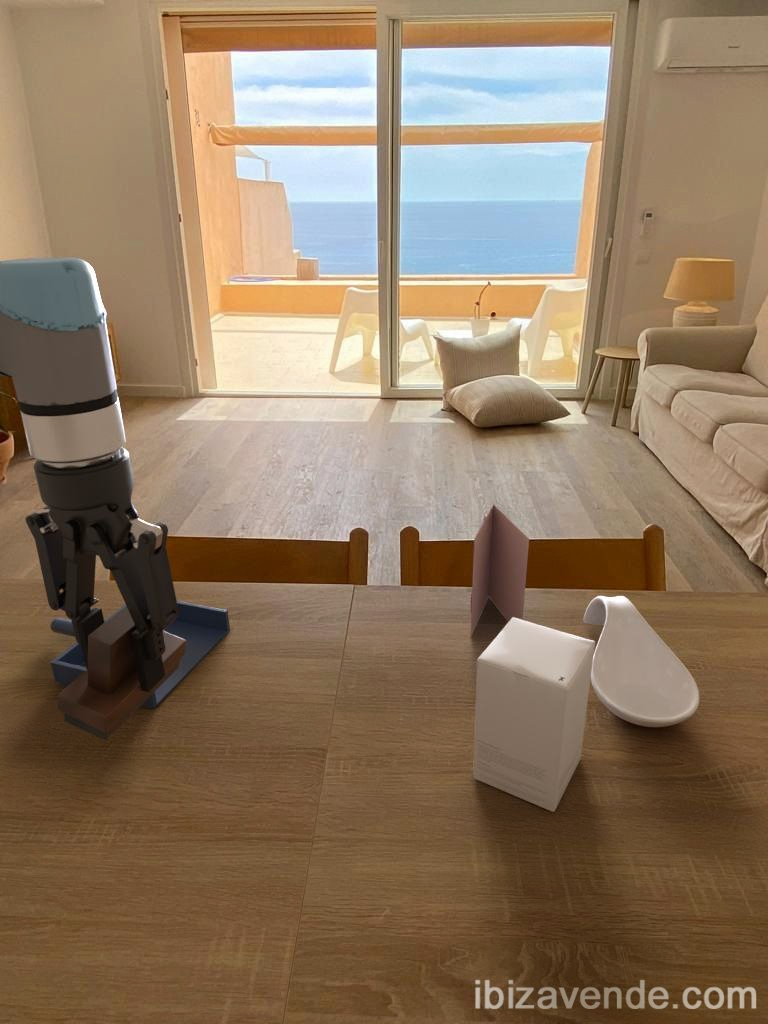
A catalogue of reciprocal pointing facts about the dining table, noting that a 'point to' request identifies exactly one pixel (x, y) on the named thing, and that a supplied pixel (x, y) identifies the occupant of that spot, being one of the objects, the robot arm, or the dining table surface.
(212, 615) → the dustpan
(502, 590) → the greeting card
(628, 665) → the spoon rest
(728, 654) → the dining table surface
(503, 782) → the white product box
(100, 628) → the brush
